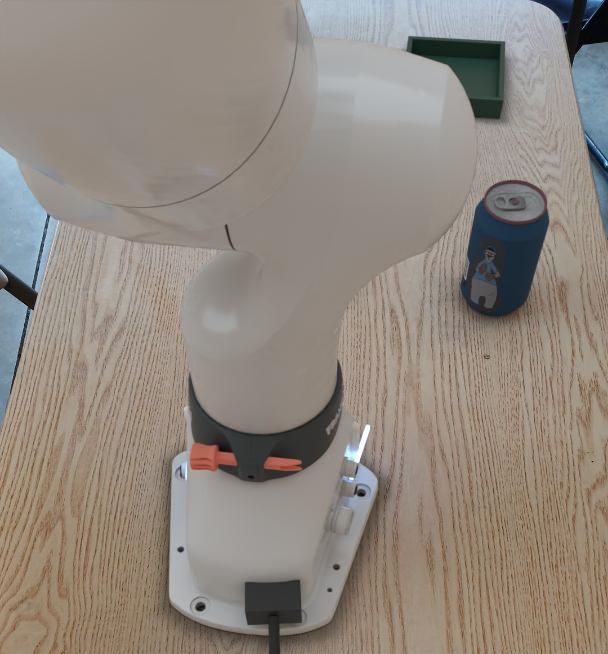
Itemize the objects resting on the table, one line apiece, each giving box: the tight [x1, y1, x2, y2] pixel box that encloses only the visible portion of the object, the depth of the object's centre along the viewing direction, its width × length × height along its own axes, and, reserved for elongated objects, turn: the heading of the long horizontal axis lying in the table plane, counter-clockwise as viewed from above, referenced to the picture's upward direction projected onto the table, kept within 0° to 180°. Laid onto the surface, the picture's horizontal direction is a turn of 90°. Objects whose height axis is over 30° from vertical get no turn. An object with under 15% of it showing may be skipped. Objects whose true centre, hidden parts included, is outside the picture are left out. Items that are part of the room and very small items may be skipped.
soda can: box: [460, 179, 551, 319], centre depth 81 cm, size 7×7×12 cm
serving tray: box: [405, 35, 506, 120], centre depth 103 cm, size 12×12×2 cm
